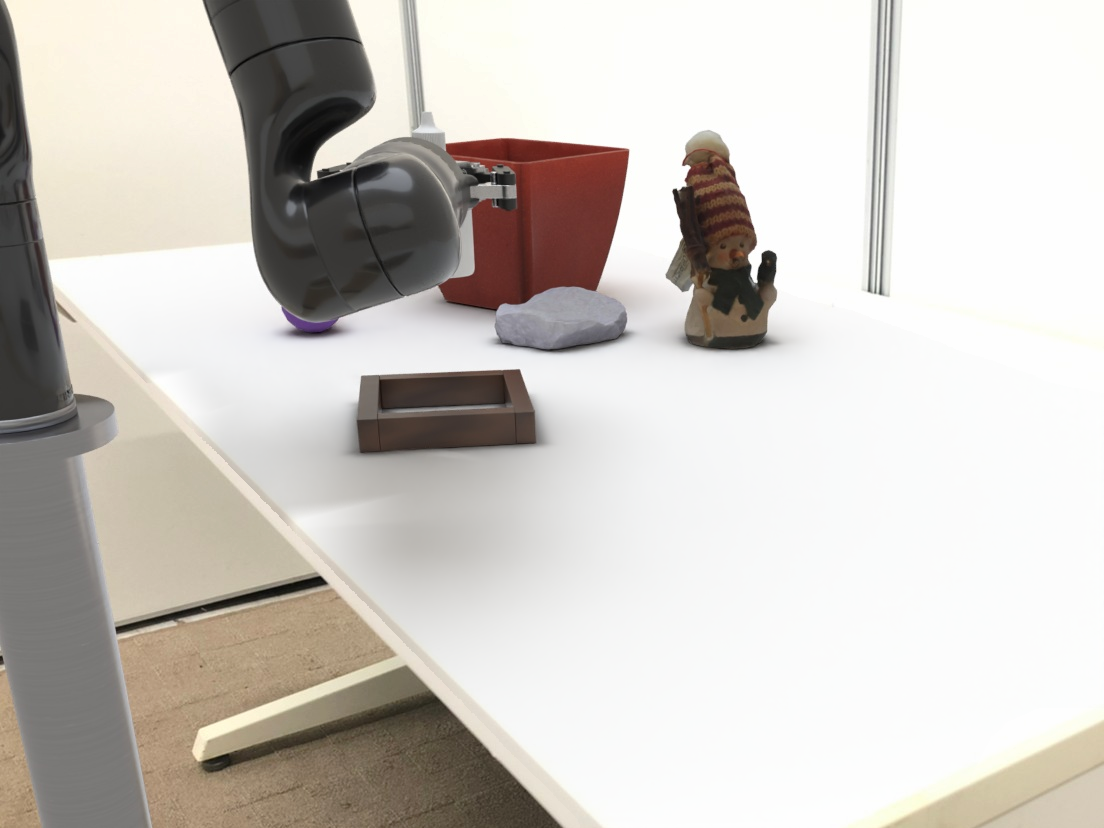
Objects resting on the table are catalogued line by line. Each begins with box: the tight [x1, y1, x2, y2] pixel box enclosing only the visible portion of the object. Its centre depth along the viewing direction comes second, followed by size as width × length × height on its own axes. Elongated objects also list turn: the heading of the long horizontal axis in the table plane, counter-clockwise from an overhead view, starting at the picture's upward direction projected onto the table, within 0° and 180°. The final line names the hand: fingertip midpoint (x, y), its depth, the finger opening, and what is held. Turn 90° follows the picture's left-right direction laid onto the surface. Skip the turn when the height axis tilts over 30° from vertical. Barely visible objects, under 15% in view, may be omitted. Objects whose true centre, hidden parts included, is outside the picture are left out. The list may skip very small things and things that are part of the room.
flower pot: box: [437, 137, 630, 311], centre depth 143 cm, size 19×19×17 cm
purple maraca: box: [280, 305, 340, 333], centre depth 135 cm, size 6×6×20 cm
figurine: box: [665, 129, 778, 350], centre depth 127 cm, size 13×12×20 cm
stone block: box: [494, 287, 628, 350], centre depth 129 cm, size 12×5×10 cm
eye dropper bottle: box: [411, 111, 475, 278], centre depth 96 cm, size 4×6×12 cm
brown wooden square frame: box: [356, 368, 537, 453], centre depth 101 cm, size 13×13×2 cm
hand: (434, 176), depth 97 cm, fingers closed on eye dropper bottle, 5 cm apart
